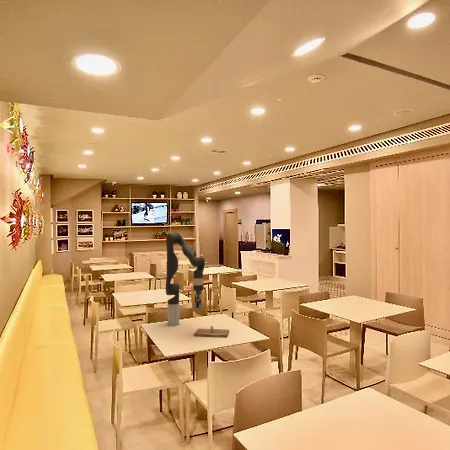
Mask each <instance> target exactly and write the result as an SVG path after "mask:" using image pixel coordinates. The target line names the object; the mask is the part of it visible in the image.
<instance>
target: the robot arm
mask: <svg viewBox="0 0 450 450" xmlns="http://www.w3.org/2000/svg"><path fill="white" fill-rule="evenodd" d="M165 242H166V243H165V244H166V281H165V294H166V295H167V296H173V297H171V298H169V299H168V300H167V326H168V327H169V326H170V327H176V326H179V325H180V285H179V283H178V282H177V283H171V282H172V279H173V277H174V276H175V274H176V273H177V271H178V270H179V259H178V256H177V255H176V253H175V251H174V245H179V246H180V247H181V252H182V253H183V256H185V257H186V258H187V259H188V261H189V263H190V265H191V266H192V267H194V268H196V269H195V270H193V283H192V286H193V288H192V289H193V290H192V291H194V292H195V294H194V303H195V302H196V308H199V302H202V299H203V291H204V270H205V264H206V260H205V258H204V257H202V256H197V253H196V252H195V251H194V250H193V249H192V248H191V246H189V244H188V243H187V242H186V240H185V239H184V237H183V236H182V234H181V233H180V232H178V231H177V232H176V231H175V232H168V233H167V234H166V237H165Z"/></svg>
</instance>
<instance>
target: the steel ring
mask: <svg viewBox="0 0 450 450" xmlns="http://www.w3.org/2000/svg"><path fill="white" fill-rule="evenodd" d="M203 304H204V302H203V301H201V302H199V308H196V302H195V301H194V304H193V308H194V309H195V310H202V309H203V308H204V305H203Z"/></svg>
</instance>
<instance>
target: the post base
mask: <svg viewBox="0 0 450 450" xmlns="http://www.w3.org/2000/svg"><path fill="white" fill-rule="evenodd" d="M229 333H230V329H223V328H222V329H220V328H219V329H218V328H214V326H213V325H211V326H210V328H197V329H196V331H195V332H194V334H193V336H194V337H201V338H203V337H204V338H225V339H227V338H228V336H229Z"/></svg>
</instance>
